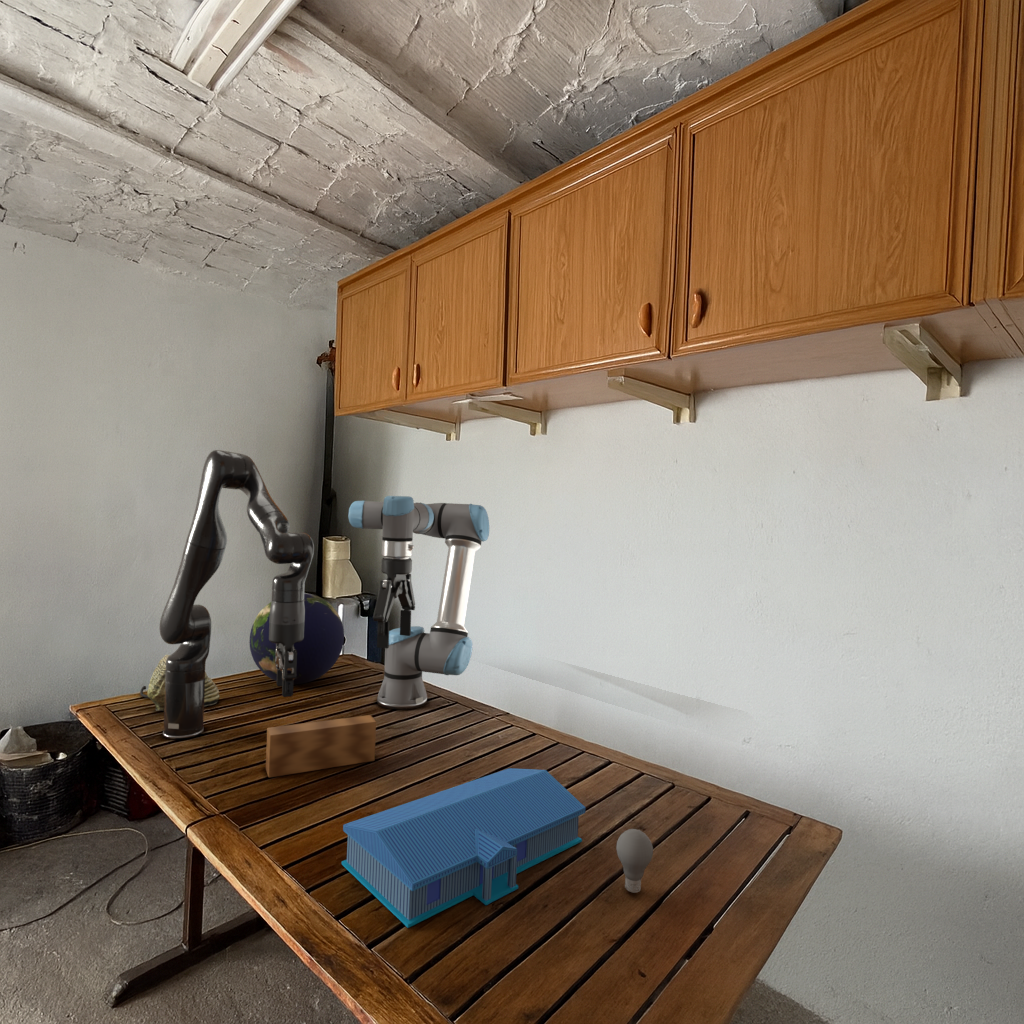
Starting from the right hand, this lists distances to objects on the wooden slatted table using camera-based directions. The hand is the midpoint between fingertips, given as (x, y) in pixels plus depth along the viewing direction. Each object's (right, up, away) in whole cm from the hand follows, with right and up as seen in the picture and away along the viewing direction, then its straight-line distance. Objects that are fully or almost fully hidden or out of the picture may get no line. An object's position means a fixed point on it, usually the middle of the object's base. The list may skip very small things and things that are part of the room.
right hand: (394, 641), depth 160 cm
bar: (-15, -27, -10) cm, 33 cm away
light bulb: (+50, -31, -54) cm, 80 cm away
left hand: (-22, -8, -15) cm, 28 cm away
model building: (+23, -29, -46) cm, 59 cm away
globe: (-43, -25, +52) cm, 72 cm away
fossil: (-66, -24, +25) cm, 75 cm away
